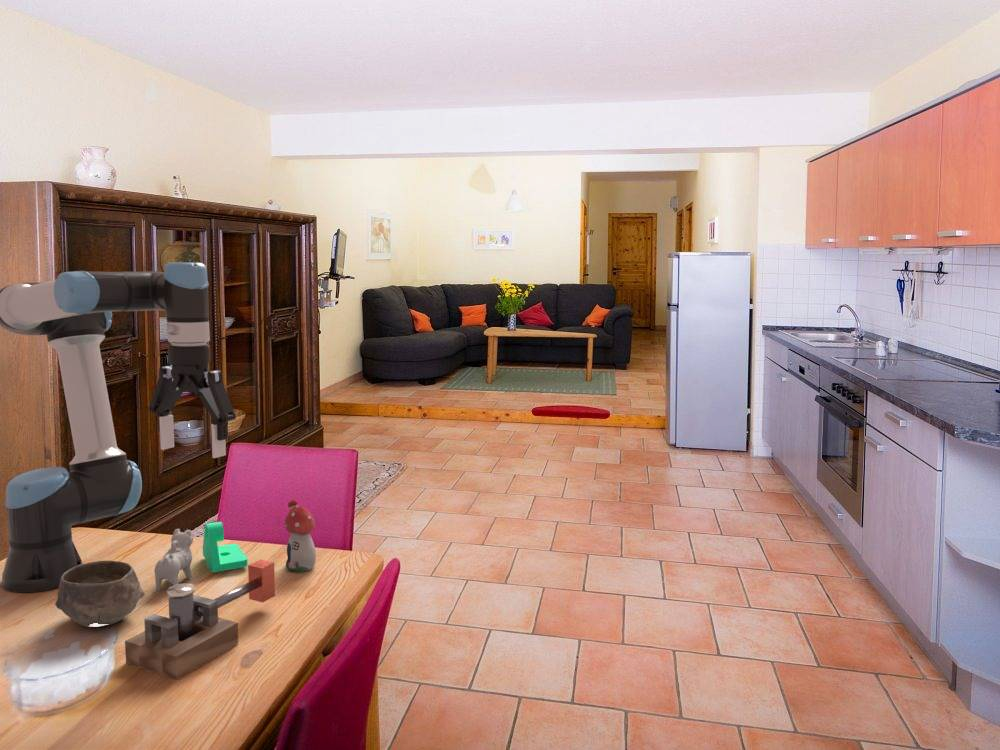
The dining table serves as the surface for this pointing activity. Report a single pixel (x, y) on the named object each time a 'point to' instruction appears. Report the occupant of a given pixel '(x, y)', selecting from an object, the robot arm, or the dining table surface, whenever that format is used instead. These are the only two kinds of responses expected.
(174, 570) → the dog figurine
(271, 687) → the dining table surface
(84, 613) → the bowl
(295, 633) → the dining table surface
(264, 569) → the pin
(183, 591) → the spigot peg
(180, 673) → the dock block
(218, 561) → the camera mount
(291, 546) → the decorative ornament
